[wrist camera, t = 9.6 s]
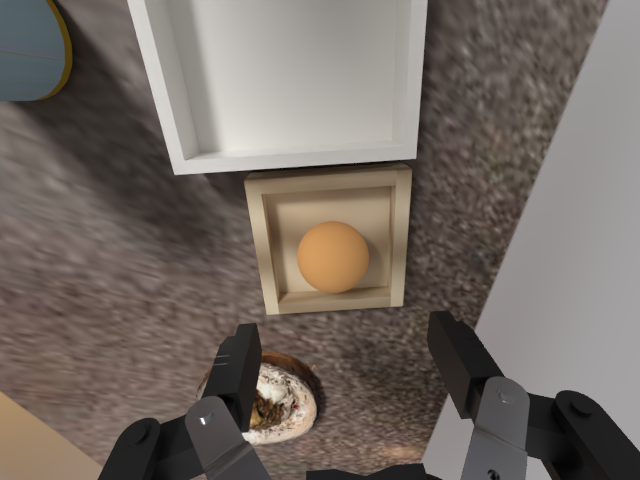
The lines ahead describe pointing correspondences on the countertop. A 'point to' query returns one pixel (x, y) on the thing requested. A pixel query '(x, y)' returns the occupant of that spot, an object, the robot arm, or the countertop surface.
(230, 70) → the dish
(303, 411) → the sushi roll
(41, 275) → the countertop surface
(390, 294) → the tray
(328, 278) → the ball
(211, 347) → the countertop surface
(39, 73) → the bottle
